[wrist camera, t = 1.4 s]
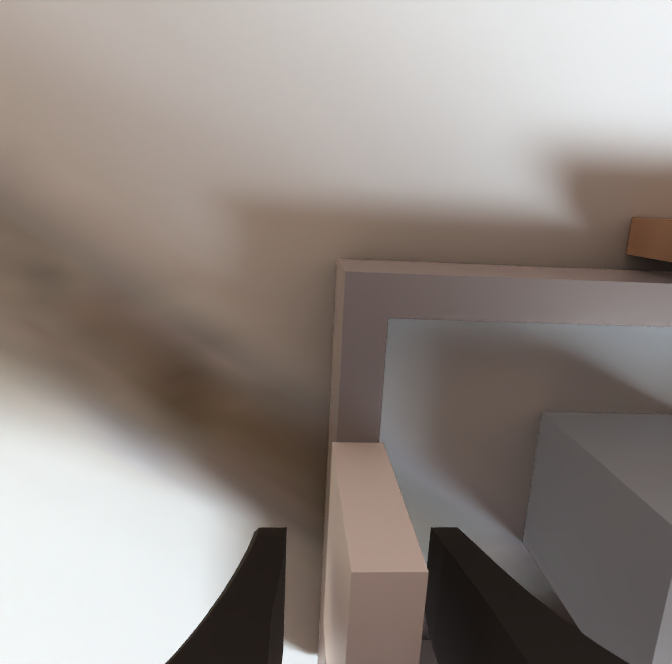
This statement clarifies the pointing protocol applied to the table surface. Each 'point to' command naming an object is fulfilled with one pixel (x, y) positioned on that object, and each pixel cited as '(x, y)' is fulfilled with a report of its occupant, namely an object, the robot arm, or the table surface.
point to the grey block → (607, 526)
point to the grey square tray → (365, 416)
